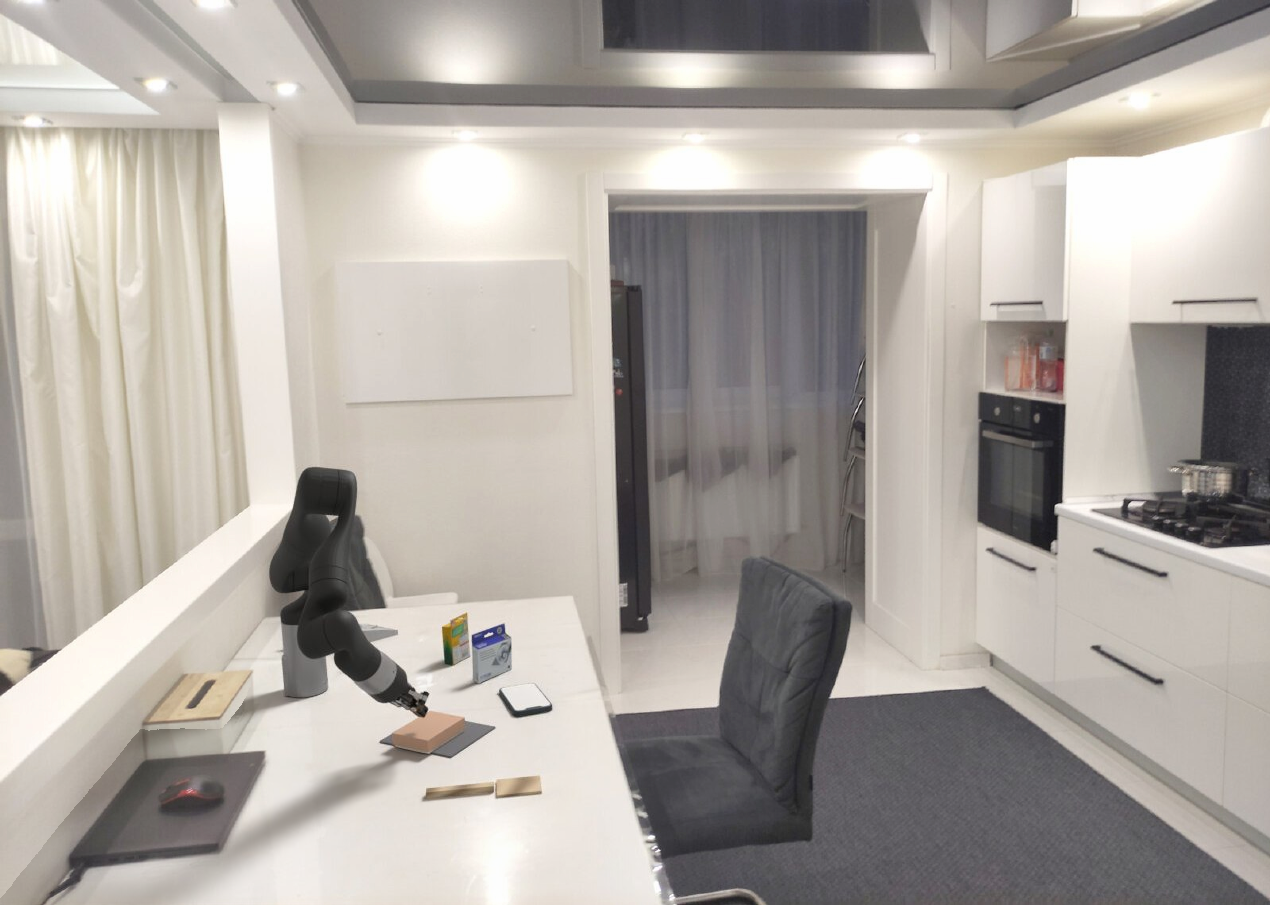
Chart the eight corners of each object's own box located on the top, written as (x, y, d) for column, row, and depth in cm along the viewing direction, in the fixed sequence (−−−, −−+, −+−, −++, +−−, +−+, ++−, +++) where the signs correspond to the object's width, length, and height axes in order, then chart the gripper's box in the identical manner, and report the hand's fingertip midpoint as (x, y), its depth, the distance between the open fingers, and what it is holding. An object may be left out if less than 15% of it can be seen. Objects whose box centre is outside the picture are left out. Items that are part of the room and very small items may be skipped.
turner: (425, 804, 171) (424, 798, 171) (427, 788, 177) (427, 782, 176) (541, 793, 174) (541, 787, 173) (540, 777, 179) (539, 771, 179)
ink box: (479, 684, 227) (476, 637, 225) (472, 682, 228) (469, 635, 227) (513, 669, 236) (511, 623, 234) (506, 667, 237) (504, 622, 236)
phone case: (497, 694, 222) (514, 719, 207) (497, 688, 222) (514, 712, 207) (535, 688, 225) (554, 712, 210) (534, 681, 225) (554, 705, 210)
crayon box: (460, 654, 248) (458, 610, 246) (470, 656, 246) (468, 612, 245) (443, 664, 241) (440, 619, 239) (453, 665, 240) (450, 620, 238)
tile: (391, 733, 193) (429, 710, 204) (392, 747, 194) (430, 724, 204) (427, 740, 189) (464, 717, 200) (428, 755, 190) (465, 731, 200)
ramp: (394, 627, 273) (392, 608, 273) (403, 643, 259) (401, 624, 258) (289, 642, 263) (287, 623, 262) (292, 660, 248) (291, 640, 248)
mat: (379, 742, 197) (379, 740, 197) (426, 714, 210) (426, 713, 210) (451, 757, 189) (451, 756, 189) (495, 728, 202) (495, 726, 202)
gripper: (414, 661, 181) (457, 700, 194) (359, 652, 187) (405, 691, 200) (397, 698, 177) (442, 736, 190) (342, 688, 183) (390, 725, 196)
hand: (423, 712), depth 195 cm, fingers closed
